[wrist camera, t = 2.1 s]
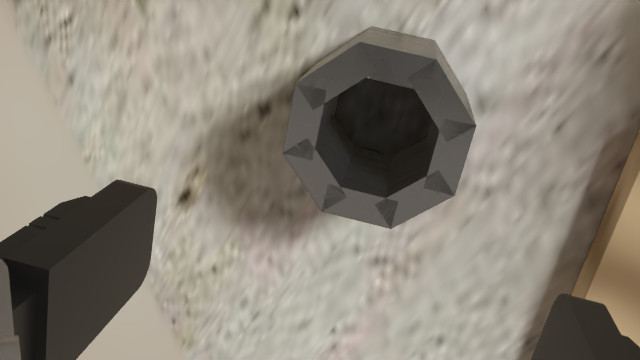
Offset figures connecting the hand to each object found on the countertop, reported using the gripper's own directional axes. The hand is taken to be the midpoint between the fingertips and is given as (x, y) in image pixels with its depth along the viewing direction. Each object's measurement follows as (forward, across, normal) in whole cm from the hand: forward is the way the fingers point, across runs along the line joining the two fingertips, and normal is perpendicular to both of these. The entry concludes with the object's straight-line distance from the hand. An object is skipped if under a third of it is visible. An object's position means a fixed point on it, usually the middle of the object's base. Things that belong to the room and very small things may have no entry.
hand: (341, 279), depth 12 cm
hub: (+14, 0, 0) cm, 15 cm away
